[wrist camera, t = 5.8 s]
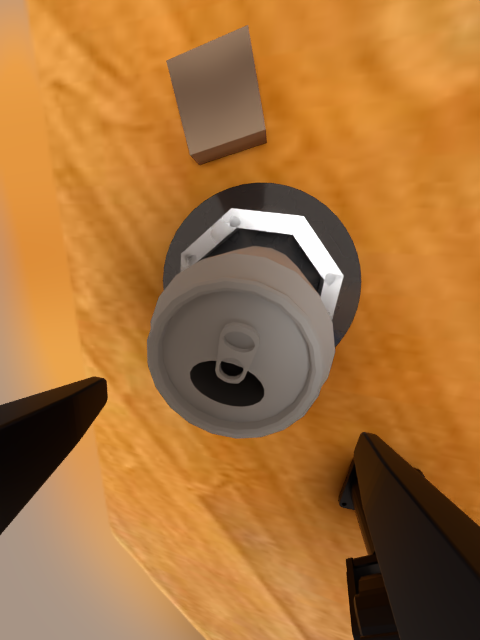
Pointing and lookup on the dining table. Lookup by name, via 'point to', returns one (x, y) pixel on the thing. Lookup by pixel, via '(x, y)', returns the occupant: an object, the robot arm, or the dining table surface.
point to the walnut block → (219, 97)
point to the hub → (275, 241)
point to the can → (240, 343)
